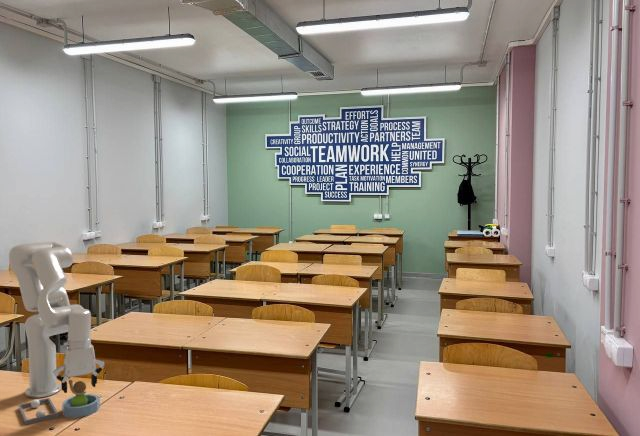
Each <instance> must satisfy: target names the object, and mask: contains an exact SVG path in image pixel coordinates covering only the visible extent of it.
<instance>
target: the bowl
mask: <svg viewBox="0 0 640 436" xmlns="http://www.w3.org/2000/svg"><path fill="white" fill-rule="evenodd" d="M84 395H85V396H86V397H87V400H88V402H87V405H85V406H80V407H72V405H71V401H72V398H73V397H74V396H75V395H73V396H71V397H69V398H66V399H65V400H64V401H63V402H62V403H61V406H62V407H61V409H62V411H61V412H62V415H63V416H64V417H67V418H70V419H71V418H72V419H73V418H74V419H75V418H82V417H87V416H90V415H93V414H95V413H96V412H98V410H99V409H100V408H101V405H100V404H101V402H100V401H101V400H100V396H99V395H97V394H93V393H85V394H84Z"/></svg>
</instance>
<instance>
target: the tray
mask: <svg viewBox="0 0 640 436" xmlns="http://www.w3.org/2000/svg"><path fill="white" fill-rule="evenodd" d="M38 400H39V401H40V405H44V404H48V405H49V407H50V409H51V411H52V412H53V413H49V414H45V416H41V417H36V416H35V417H34V418H28V419H27V417H26V414H25V412H24V410H23V409H26V408H30V407H31V402H32V401H30V402H24V403H19V404H18V411H19V413H20V416H21V418H22V421H23V423H24V425H25V426H27V425H30V424H32V425H33V424H37V423H41V422H44V421H47V420H51V419H52V420H53V419H55V418H56V419H57V418H59V412H58V410H57V408H56V407H55V405H54V403H53V402H52V400H51V398H50V397H48V398H44V399H38ZM31 408H32V407H31Z"/></svg>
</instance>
